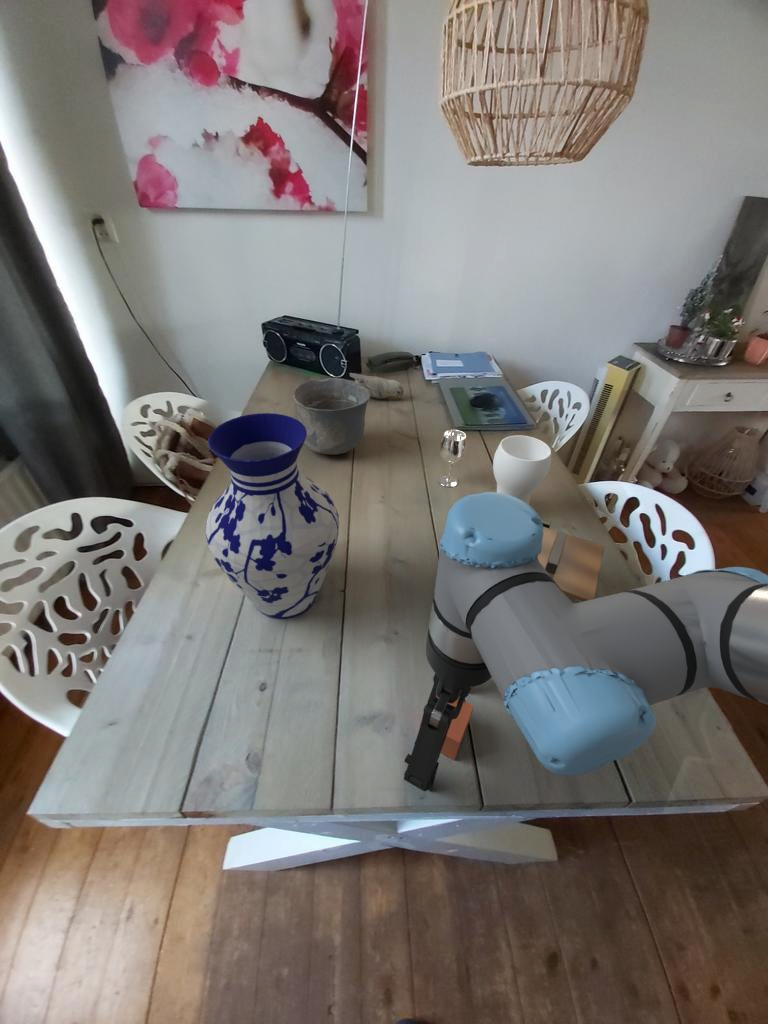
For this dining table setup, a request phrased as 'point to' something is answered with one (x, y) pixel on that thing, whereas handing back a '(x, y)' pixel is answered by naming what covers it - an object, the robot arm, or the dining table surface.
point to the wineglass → (452, 453)
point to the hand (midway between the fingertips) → (442, 730)
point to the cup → (521, 466)
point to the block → (456, 730)
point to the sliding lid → (571, 563)
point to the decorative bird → (379, 386)
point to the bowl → (331, 414)
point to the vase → (270, 516)
